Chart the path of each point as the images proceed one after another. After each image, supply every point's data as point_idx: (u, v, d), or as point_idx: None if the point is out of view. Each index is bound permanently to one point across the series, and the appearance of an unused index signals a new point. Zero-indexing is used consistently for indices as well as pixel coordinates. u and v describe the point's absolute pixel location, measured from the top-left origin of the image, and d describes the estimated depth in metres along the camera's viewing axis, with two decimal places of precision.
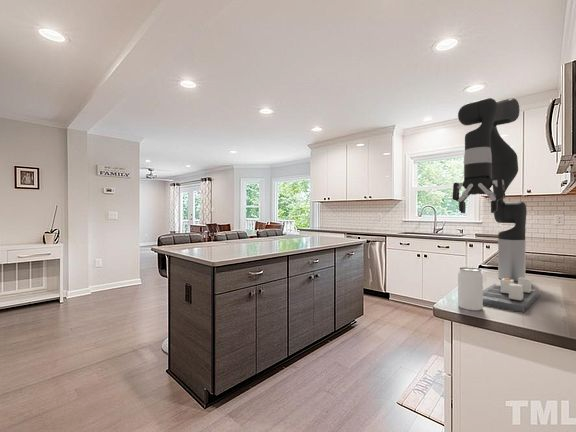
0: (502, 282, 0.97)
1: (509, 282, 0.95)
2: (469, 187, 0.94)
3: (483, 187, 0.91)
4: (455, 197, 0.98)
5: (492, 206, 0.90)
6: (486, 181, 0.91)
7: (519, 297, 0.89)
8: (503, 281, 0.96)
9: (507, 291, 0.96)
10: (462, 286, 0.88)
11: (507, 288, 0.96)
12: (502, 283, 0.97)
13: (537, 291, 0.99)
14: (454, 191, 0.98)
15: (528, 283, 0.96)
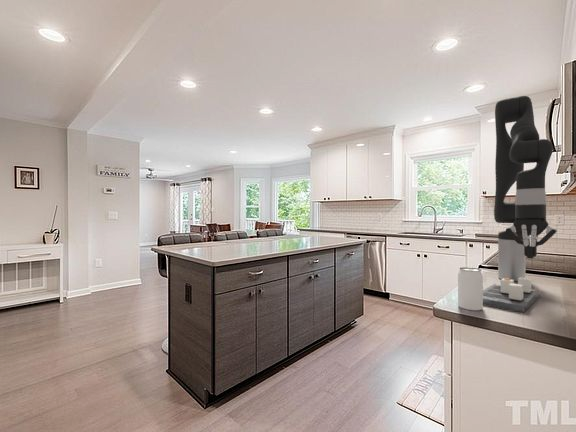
0: (502, 282, 0.97)
1: (509, 282, 0.95)
2: (524, 228, 0.92)
3: (534, 230, 0.90)
4: (520, 241, 0.93)
5: (531, 252, 0.91)
6: (542, 223, 0.89)
7: (519, 297, 0.89)
8: (503, 281, 0.96)
9: (507, 291, 0.96)
10: (462, 286, 0.88)
11: (507, 288, 0.96)
12: (502, 283, 0.97)
13: (537, 291, 0.99)
14: (513, 236, 0.94)
15: (528, 283, 0.96)
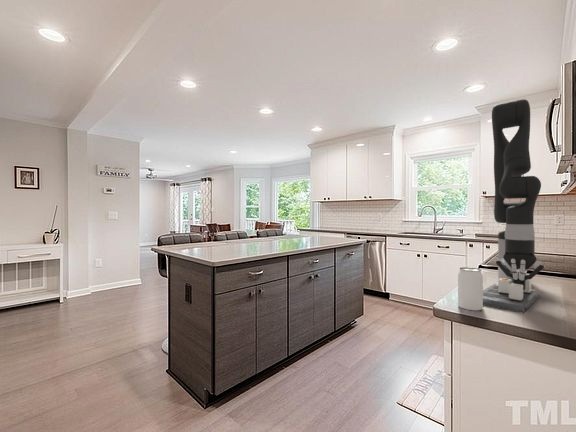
0: (500, 282, 0.97)
1: (507, 282, 0.96)
2: (513, 262, 0.94)
3: (523, 265, 0.92)
4: (509, 274, 0.95)
5: None
6: (530, 258, 0.91)
7: (519, 297, 0.89)
8: (501, 281, 0.97)
9: (505, 291, 0.96)
10: (462, 286, 0.88)
11: (505, 288, 0.96)
12: (500, 283, 0.97)
13: (537, 291, 0.99)
14: (503, 269, 0.97)
15: (528, 283, 0.96)
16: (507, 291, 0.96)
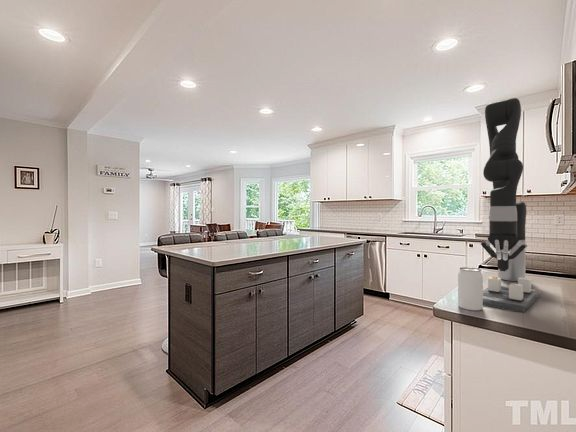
0: (489, 280, 0.99)
1: (496, 280, 0.98)
2: (497, 243, 0.97)
3: (506, 245, 0.95)
4: (494, 254, 0.99)
5: (503, 265, 0.97)
6: (513, 238, 0.95)
7: (519, 297, 0.89)
8: (490, 279, 0.99)
9: (494, 289, 0.98)
10: (462, 286, 0.88)
11: (494, 286, 0.98)
12: (489, 281, 0.99)
13: (537, 291, 0.99)
14: (487, 250, 1.00)
15: (528, 283, 0.96)
16: (496, 289, 0.98)
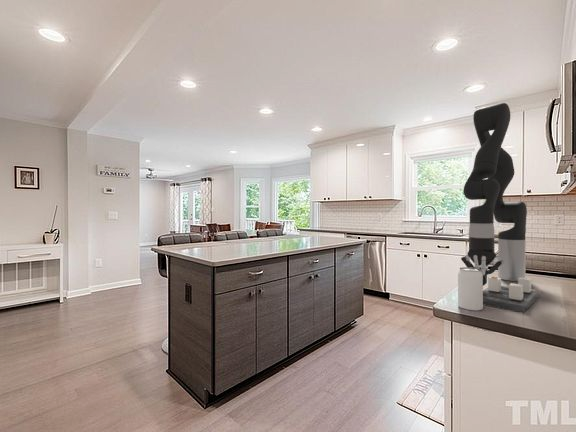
0: (489, 280, 0.99)
1: (496, 280, 0.98)
2: (475, 258, 1.02)
3: (484, 261, 1.00)
4: None
5: None
6: (490, 254, 0.99)
7: (519, 297, 0.89)
8: (490, 279, 0.99)
9: (494, 289, 0.98)
10: (462, 286, 0.88)
11: (494, 286, 0.98)
12: (489, 281, 0.99)
13: (537, 291, 0.99)
14: (467, 264, 1.05)
15: (528, 283, 0.96)
16: (496, 289, 0.98)
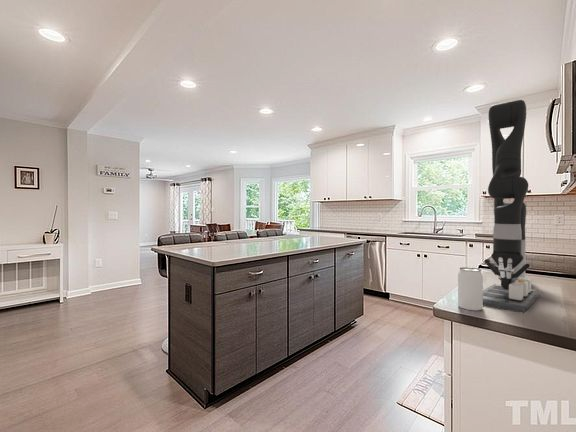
0: None
1: (523, 284, 0.92)
2: (500, 261, 0.97)
3: (510, 263, 0.95)
4: (497, 272, 0.98)
5: (507, 283, 0.96)
6: (517, 257, 0.94)
7: (519, 297, 0.89)
8: (517, 283, 0.94)
9: None
10: (462, 286, 0.88)
11: None
12: None
13: (537, 291, 0.99)
14: (491, 267, 0.99)
15: (528, 283, 0.96)
16: (524, 294, 0.92)
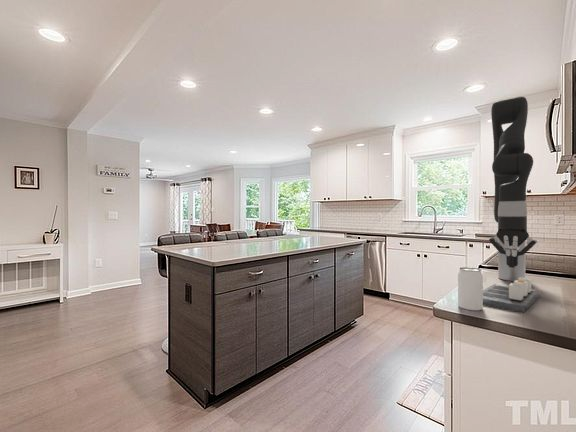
0: None
1: (523, 284, 0.93)
2: (506, 239, 0.95)
3: (515, 241, 0.94)
4: (502, 251, 0.97)
5: (513, 261, 0.95)
6: (523, 234, 0.93)
7: (519, 297, 0.89)
8: (516, 283, 0.94)
9: None
10: (462, 286, 0.88)
11: None
12: None
13: (537, 291, 0.99)
14: (496, 246, 0.98)
15: (528, 283, 0.96)
16: (523, 294, 0.93)
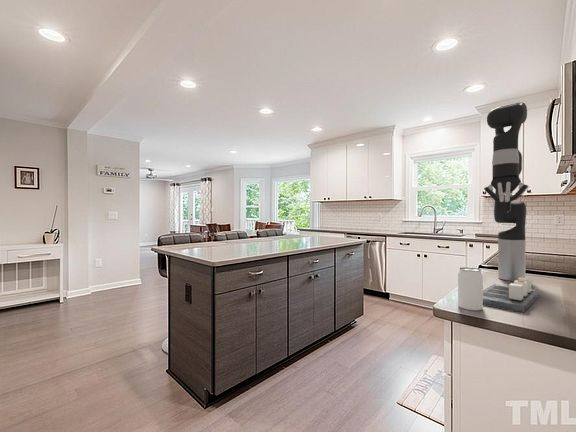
0: None
1: (523, 284, 0.93)
2: (499, 186, 1.02)
3: (508, 187, 1.00)
4: (496, 197, 1.03)
5: (506, 206, 1.01)
6: (515, 180, 0.99)
7: (519, 297, 0.89)
8: (516, 283, 0.94)
9: None
10: (462, 286, 0.88)
11: None
12: None
13: (537, 291, 0.99)
14: (490, 194, 1.05)
15: (528, 283, 0.96)
16: (523, 294, 0.93)
